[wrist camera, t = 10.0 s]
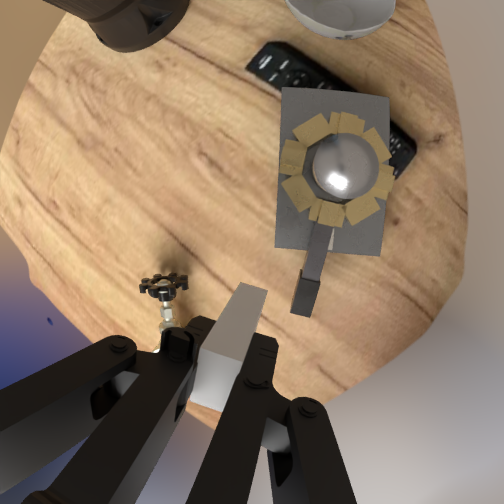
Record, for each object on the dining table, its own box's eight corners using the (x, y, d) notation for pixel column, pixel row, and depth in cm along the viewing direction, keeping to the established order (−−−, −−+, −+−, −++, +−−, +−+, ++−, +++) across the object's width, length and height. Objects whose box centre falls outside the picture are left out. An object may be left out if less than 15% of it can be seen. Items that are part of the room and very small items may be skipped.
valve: (204, 351, 42) (196, 273, 40) (188, 376, 36) (177, 290, 33) (164, 345, 44) (153, 271, 41) (144, 368, 37) (128, 287, 34)
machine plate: (283, 94, 32) (271, 52, 20) (383, 103, 30) (418, 68, 18) (277, 242, 37) (261, 275, 24) (374, 250, 35) (406, 287, 22)
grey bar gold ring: (255, 291, 35) (248, 305, 31) (294, 109, 29) (292, 100, 26) (345, 314, 34) (349, 329, 30) (392, 135, 28) (403, 130, 24)
